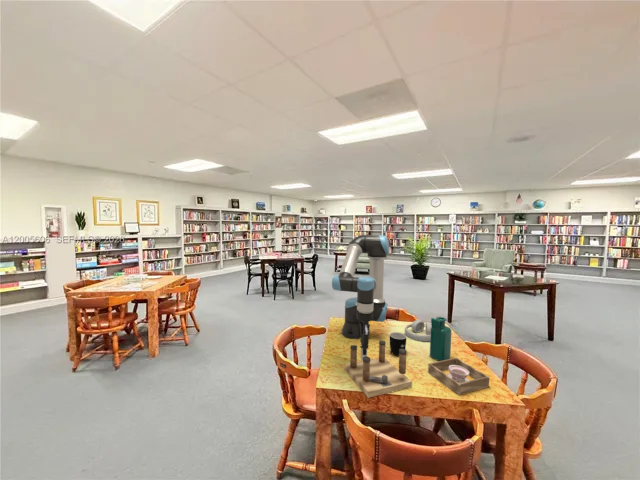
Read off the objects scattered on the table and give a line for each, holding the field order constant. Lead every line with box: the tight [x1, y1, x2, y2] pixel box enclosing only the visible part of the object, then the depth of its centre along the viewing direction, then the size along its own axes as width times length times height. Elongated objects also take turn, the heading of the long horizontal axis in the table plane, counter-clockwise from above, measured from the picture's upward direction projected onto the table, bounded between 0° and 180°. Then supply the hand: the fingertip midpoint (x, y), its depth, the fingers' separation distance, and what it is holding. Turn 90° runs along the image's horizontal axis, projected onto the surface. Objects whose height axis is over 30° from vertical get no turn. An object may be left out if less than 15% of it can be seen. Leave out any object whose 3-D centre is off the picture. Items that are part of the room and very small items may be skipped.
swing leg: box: [363, 355, 388, 384], centre depth 113 cm, size 11×3×10 cm, turn 77°
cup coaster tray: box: [427, 357, 490, 396], centre depth 120 cm, size 18×18×4 cm
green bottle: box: [429, 316, 452, 362], centre depth 138 cm, size 10×8×22 cm
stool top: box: [344, 339, 413, 399], centre depth 120 cm, size 22×22×12 cm
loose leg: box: [398, 348, 408, 375], centre depth 115 cm, size 3×3×10 cm
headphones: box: [404, 319, 432, 342], centre depth 167 cm, size 18×8×20 cm
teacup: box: [447, 365, 470, 383], centre depth 117 cm, size 12×12×6 cm
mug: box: [389, 331, 407, 357], centre depth 144 cm, size 12×9×10 cm
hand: (363, 360), depth 122 cm, fingers closed
